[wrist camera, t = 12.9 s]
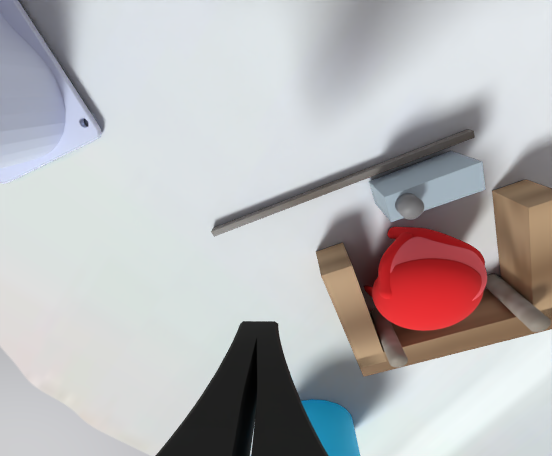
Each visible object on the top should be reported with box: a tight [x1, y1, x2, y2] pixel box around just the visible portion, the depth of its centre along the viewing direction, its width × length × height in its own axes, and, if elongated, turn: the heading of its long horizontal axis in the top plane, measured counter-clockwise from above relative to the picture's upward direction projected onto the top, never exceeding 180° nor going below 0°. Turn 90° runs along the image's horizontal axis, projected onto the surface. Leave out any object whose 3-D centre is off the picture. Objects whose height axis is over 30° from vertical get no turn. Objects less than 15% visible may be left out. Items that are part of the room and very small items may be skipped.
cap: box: [364, 227, 487, 331], centre depth 18 cm, size 8×6×6 cm
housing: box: [211, 129, 552, 376], centre depth 19 cm, size 14×20×4 cm
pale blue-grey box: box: [369, 151, 485, 222], centre depth 16 cm, size 2×5×4 cm, turn 113°
